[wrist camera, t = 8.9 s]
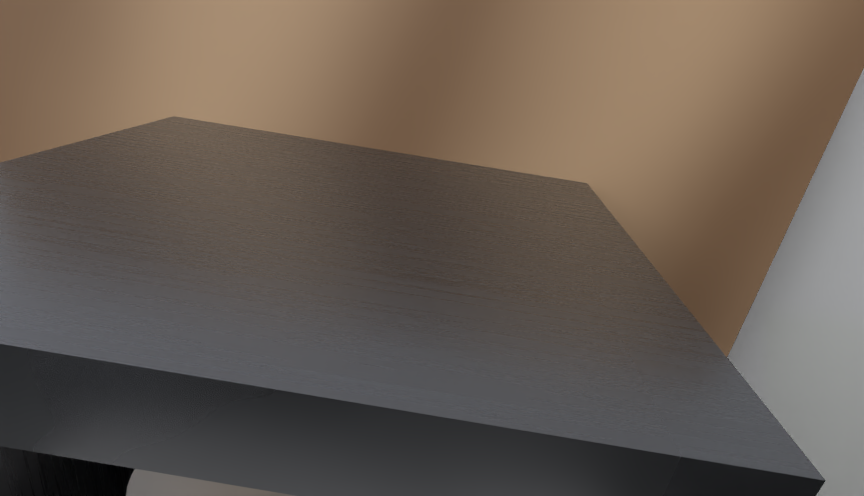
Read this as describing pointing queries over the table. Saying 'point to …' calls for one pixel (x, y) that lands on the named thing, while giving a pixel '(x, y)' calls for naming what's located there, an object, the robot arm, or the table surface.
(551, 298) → the duct collar
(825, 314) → the table surface
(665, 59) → the board
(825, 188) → the table surface
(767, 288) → the table surface
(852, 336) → the table surface
